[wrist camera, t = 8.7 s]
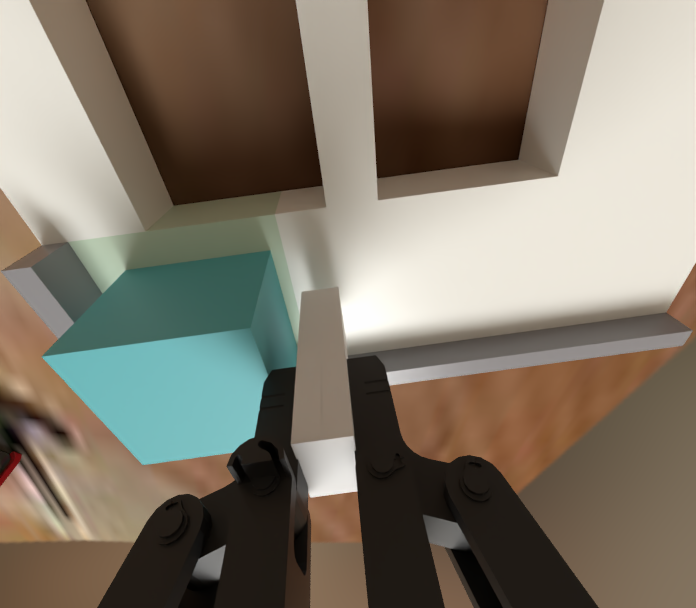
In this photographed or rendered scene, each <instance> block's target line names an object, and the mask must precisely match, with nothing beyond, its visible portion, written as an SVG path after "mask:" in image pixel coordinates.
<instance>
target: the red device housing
mask: <svg viewBox="0 0 696 608" xmlns="http://www.w3.org/2000/svg"><path fill="white" fill-rule="evenodd" d="M20 460H21V454H19V453H16V452H14V451H13V452H12V453H10V454H7V453H5V452H2V451H0V486H1V485H2V484H3V482H4V481H5V480H6V479H7V477H8V476H9V475H10V473H11V472H12V471H13V469H14V468H15V467H16V465H17V464H18V463H19V462H20Z"/></svg>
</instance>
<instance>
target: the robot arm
mask: <svg viewBox="0 0 696 608" xmlns="http://www.w3.org/2000/svg"><path fill="white" fill-rule="evenodd" d="M261 397H262V399H261V402H260V411H259V413H258V419H257V425H256V431H255V437H254V438H251V439H248V440H247V441H246V442H244V443H243V444H241V445H240V446H239V447H238V448H237V449H236V450H235V451H234V452H233V454H232V455H231V457H230V459H229V462H228V464H227V468H228V470H229V471H230V473H231V474H232V476H233V478H234V479H235V481H233V482H232V483H231V484H229V485H227V486H226V487H224V488H222V489H220V490H218V491H215V492H213V493H211V494H209V495H207V496H205V497H203V498H201V499H198V498H197V497H195V496H193V495H190V494H184V495H177V496H175V497H173V498H171V499H169V500H167V501H166V502H164V503H163V504H162V505H161V506H160V507H158V508H157V509H156V510H155V512H154V513H153V514H152V516H151V517H150V518H149V520H148V521H147V523H146V524H145V526H144V528H143V529H142V531H141V533H140V535H139V536H138V538H137V540H136V542H135V543H134V545H133V547H132V548H131V550H130V552H129V554H128V556H127V557H126V559H125V561H124V562H123V564H122V566H121V568H120V569H119V571H118V573H117V574H116V577H115V578H114V580H113V582H112V583H111V585H110V587H109V588H108V590H107V592H106V594H105V595H104V597H103V599H102V601H101V602H100V604H99V606H98V607H97V608H310V564H311V563H310V562H311V560H310V559H311V519H310V513H309V511H308V492H309V494H310V497H318V496H326V495H333V494H341V493H348V492H356V491H357V492H358V502H359V513H360V523H361V533H362V544H363V554H364V564H365V575H366V586H367V596H368V606H369V608H445V607H444V603H443V598H442V594H441V590H440V586H439V581H438V577H437V573H436V569H435V565H434V560H433V557H432V552H431V548H430V544H429V543H432V544H436V545H440V546H443V547H445V549H446V551H447V553H448V555H449V557H450V559H451V561H452V563H453V565H454V568H455V570H456V572H457V574H458V575H459V578H460V580H461V582H462V584H463V586H464V588H465V590H466V592H467V594H468V597H469V599H470V600H471V602H472V605H473V607H474V608H598V606H597V605H596V603H595V602H594V601H593V599H592V598H591V596H590V595H589V594H588V593H587V591H586V590H585V588H584V587H583V586H582V584H581V583H580V581H579V580H578V579H577V577H576V576H575V575H574V573H573V572H572V570H571V569H570V568H569V566H568V565H567V563H566V562H565V561H564V559H563V558H562V556H561V555H560V554H559V552H558V551H557V550H556V548H555V547H554V546H553V544H552V543H551V541H550V540H549V539H548V537H547V536H546V534H545V533H544V532H543V530H542V529H541V528H540V526H539V525H538V523H537V522H536V521H535V519H534V518H533V516H532V515H531V514H530V512H529V511H528V510H527V508H526V507H525V505H524V504H523V503H522V502H521V500H520V499H519V497H518V496H517V494H516V493H515V492H514V490H513V489H512V488H511V486H510V485H509V483H508V482H507V481H506V479H505V478H504V476H503V475H502V474H501V473H500V472H499V471H498V470H497V468H496V467H495V466H494V465H493V464H491V463H490V462H488V461H486V460H484V459H482V458H481V457H475V456H470V455H468V456H462V457H458V458H457V459H455V460H454V461H452V462H451V463H446V462H441V461H436V460H431V459H427V458H424V457H421V456H419V455H418V454H416V453H414V452H413V451H412V450H411V449H410V448H409V447H408V446H407V445H406V444H405V442H404V441H403V438H402V436H401V433H400V429H399V425H398V420H397V416H396V412H395V408H394V403H393V399H392V395H391V391H390V386H389V382H388V378H387V373H386V369H385V365H384V364H383V363H382V362H381V361H380V359H379V358H378V357H377V356H376V355H373V356H365V357H358V358H350V359H348V353H347V344H346V336H345V329H344V322H343V315H342V308H341V301H340V294H339V287H334V288H326V289H318V290H311V291H303V292H301V306H300V320H299V334H298V348H297V363H296V367H289V368H281V369H274V370H272V371H271V372H270V374H269V375H268V377H267V378H266V380H265V381H264V384H263V390H262V396H261Z"/></svg>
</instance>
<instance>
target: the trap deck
mask: <svg viewBox="0 0 696 608" xmlns="http://www.w3.org/2000/svg"><path fill="white" fill-rule="evenodd" d="M296 6H297V13H298V20H299V26H300V33H301V40H302V47H303V53H304V60H305V67H306V74H307V80H308V87H309V94H310V100H311V107H312V114H313V121H314V127H315V134H316V141H317V147H318V154H319V161H320V168H321V174H322V181H323V186H317V187H310V188H302V189H295V190H287V191H280V192H272V193H265V194H257V195H250V196H242V197H235V198H227V199H220V200H212V201H205V202H197V203H190V204H182V205H175V206H174V205H173V203H172V201H171V198H170V196H169V194H168V191H167V189H166V187H165V184H164V182H163V180H162V177H161V175H160V173H159V170H158V168H157V166H156V163H155V161H154V159H153V156H152V154H151V152H150V149H149V147H148V145H147V142H146V140H145V138H144V135H143V133H142V131H141V128H140V126H139V124H138V121H137V119H136V117H135V114H134V112H133V110H132V107H131V105H130V103H129V100H128V98H127V96H126V94H125V91H124V89H123V87H122V84H121V82H120V80H119V77H118V75H117V73H116V70H115V68H114V66H113V63H112V61H111V59H110V56H109V54H108V52H107V49H106V47H105V45H104V42H103V40H102V38H101V35H100V33H99V31H98V28H97V26H96V24H95V21H94V19H93V17H92V14H91V12H90V10H89V7H88V5H87V3H86V0H0V188H1V189H2V191H3V192H4V193H5V195H6V196H7V198H8V199H9V200H10V202H11V203H12V204H13V206H14V207H15V209H16V210H17V211H18V213H19V214H20V216H21V217H22V218H23V220H24V221H25V222H26V224H27V225H28V227H29V228H30V229H31V231H32V232H33V233H34V235H35V236H36V238H37V239H38V240H39V242H40V243H41V245H42V246H40V247H39V248H37V249H36V250H34V251H32V252H31V253H29V254H28V255H26V256H24V257H23V258H21V259H20V260H18V261H16V262H15V263H13V264H12V265H10V266H8V267H7V268H5V269H4V270H2V271H1V272H2V273H3V274H4V276H5V277H6V278H7V279H8V280H9V282H10V283H11V284H12V285H13V286H14V287H15V289H16V290H17V291H18V292H19V293H20V294H21V296H22V297H23V298H24V299H25V300H26V302H27V303H28V304H29V305H30V306H31V307H32V309H33V310H34V311H35V312H36V313H37V314H38V316H39V317H40V318H41V319H42V320H43V322H44V323H45V324H46V325H47V326H48V327H49V329H50V330H51V331H52V332H53V333H54V334H55V336H56V337H57V338H58V339H59V338H60V337H61V336H62V335H63V334H64V333H65V332H66V331H67V330H68V329H69V328H70V327H71V326H72V325H73V324H74V323H75V322H76V321H77V320H78V319H79V318H80V317H81V316H82V315H83V313H84V312H85V311H86V310H87V309H88V308H89V307H90V306H91V305H92V304H93V303H94V302H95V301H96V300H97V299H98V298H99V297H100V296H101V295H102V294H103V293H104V292H105V291H106V290H107V289H108V288H109V287H110V286H111V285H112V284H113V283H114V282H115V281H116V280H117V279H118V277H119V276H120V275H121V274H122V273H123V272H124V271H125V270H130V269H137V268H145V267H152V266H159V265H167V264H174V263H181V262H188V261H196V260H203V259H210V258H218V257H225V256H232V255H240V254H247V253H254V252H261V251H269V250H271V254H272V257H273V261H274V265H275V268H276V272H277V275H278V279H279V283H280V286H281V290H282V293H283V297H284V301H285V304H286V308H287V311H288V315H289V319H290V322H291V326H292V330H293V333H294V337H295V340H296V344H297V348H298V334H299V320H300V306H301V292H303V291H311V290H318V289H326V288H334V287H339V294H340V301H341V308H342V315H343V322H344V329H345V336H346V344H347V353H348V359H350V358H358V357H365V356H373V355H376V356H377V357H378V358H379V359H380V361H381V362H382V363H383V364H384V365H385V369H386V373H387V378H388V382H389V385H396V384H403V383H410V382H418V381H425V380H432V379H440V378H447V377H455V376H462V375H469V374H477V373H484V372H491V371H499V370H506V369H514V368H521V367H528V366H536V365H543V364H550V363H558V362H565V361H573V360H580V359H587V358H595V357H602V356H610V355H617V354H624V353H632V352H639V351H646V350H654V349H661V348H669V347H676V346H683V344H684V343H685V341H686V340H687V339H688V337H689V336H690V334H691V333H692V330H691V329H689V328H688V327H687V326H685V325H684V324H682V323H681V322H679V321H678V320H676V319H675V318H673V317H672V316H670V315H669V314H667V313H666V312H667V310H668V308H669V307H670V305H671V303H672V302H673V300H674V298H675V297H676V295H677V293H678V291H679V290H680V288H681V286H682V285H683V283H684V281H685V280H686V278H687V276H688V275H689V273H690V271H691V270H692V268H693V266H694V264H695V263H696V0H548V5H547V11H546V16H545V21H544V26H543V32H542V37H541V42H540V48H539V53H538V58H537V64H536V69H535V74H534V79H533V85H532V90H531V95H530V101H529V106H528V111H527V117H526V122H525V127H524V132H523V138H522V143H521V148H520V154H519V159H518V160H512V161H504V162H497V163H489V164H482V165H474V166H467V167H459V168H452V169H444V170H437V171H429V172H422V173H414V174H407V175H399V176H392V177H384V178H377V173H376V154H375V135H374V116H373V98H372V79H371V60H370V41H369V22H368V3H367V0H296Z"/></svg>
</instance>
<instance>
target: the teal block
mask: <svg viewBox="0 0 696 608" xmlns="http://www.w3.org/2000/svg"><path fill="white" fill-rule="evenodd" d="M42 358H43V359H44V360H45V361H46V362H47V363H48V364H49V365H50V366H51V367H52V368H53V369H54V371H55V372H56V373H57V374H58V375H59V376H60V377H61V378H62V379H63V380H64V381H65V382H66V383H67V384H68V385H69V387H70V388H71V389H72V390H73V391H74V392H75V393H76V394H77V395H78V396H79V397H80V398H81V399H82V400H83V402H84V403H85V404H86V405H87V406H88V407H89V408H90V409H91V410H92V411H93V412H94V413H95V414H96V415H97V416H98V418H99V419H100V420H101V421H102V422H103V423H104V424H105V425H106V426H107V427H108V428H109V429H110V430H111V431H112V433H113V434H114V435H115V436H116V437H117V438H118V439H119V440H120V441H121V442H122V443H123V444H124V445H125V446H126V447H127V449H128V450H129V451H130V452H131V453H132V454H133V455H134V456H135V457H136V458H137V459H138V460H139V461H140V462H141V464H142V465H146V464H153V463H161V462H168V461H175V460H182V459H190V458H197V457H204V456H211V455H219V454H226V453H233V452H234V451H235V450H236V449H237V448H238V447H239V446H240V445H241V444H243V443H244V442H246V441H247V440H248V439H251V438H254V437H255V431H256V425H257V419H258V413H259V411H260V402H261V399H262V397H261V396H262V390H263V384H264V381H265V380H266V378H267V377H268V375H269V374H270V372H271V371H272V370H274V369H281V368H289V367H296V363H297V344H296V340H295V337H294V333H293V330H292V326H291V322H290V319H289V315H288V311H287V308H286V304H285V301H284V297H283V293H282V290H281V286H280V283H279V279H278V275H277V272H276V268H275V265H274V261H273V257H272V254H271V250H269V251H261V252H254V253H247V254H240V255H232V256H225V257H218V258H210V259H203V260H196V261H188V262H181V263H174V264H167V265H159V266H152V267H145V268H137V269H130V270H125V271H124V272H123V273H122V274H121V275H120V276H119V277H118V279H117V280H116V281H115V282H114V283H113V284H112V285H111V286H110V287H109V288H108V289H107V290H106V291H105V292H104V293H103V294H102V295H101V296H100V297H99V298H98V299H97V300H96V301H95V302H94V303H93V304H92V305H91V306H90V307H89V308H88V309H87V310H86V311H85V312H84V313H83V315H82V316H81V317H80V318H79V319H78V320H77V321H76V322H75V323H74V324H73V325H72V326H71V327H70V328H69V329H68V330H67V331H66V332H65V333H64V334H63V335H62V336H61V337H60V338H59V339H58V340H57V341H56V342H55V343H54V344H53V345H52V346H51V347H50V348H49V350H48V351H47V352H46V353H45V354H44V355H43V356H42Z"/></svg>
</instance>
